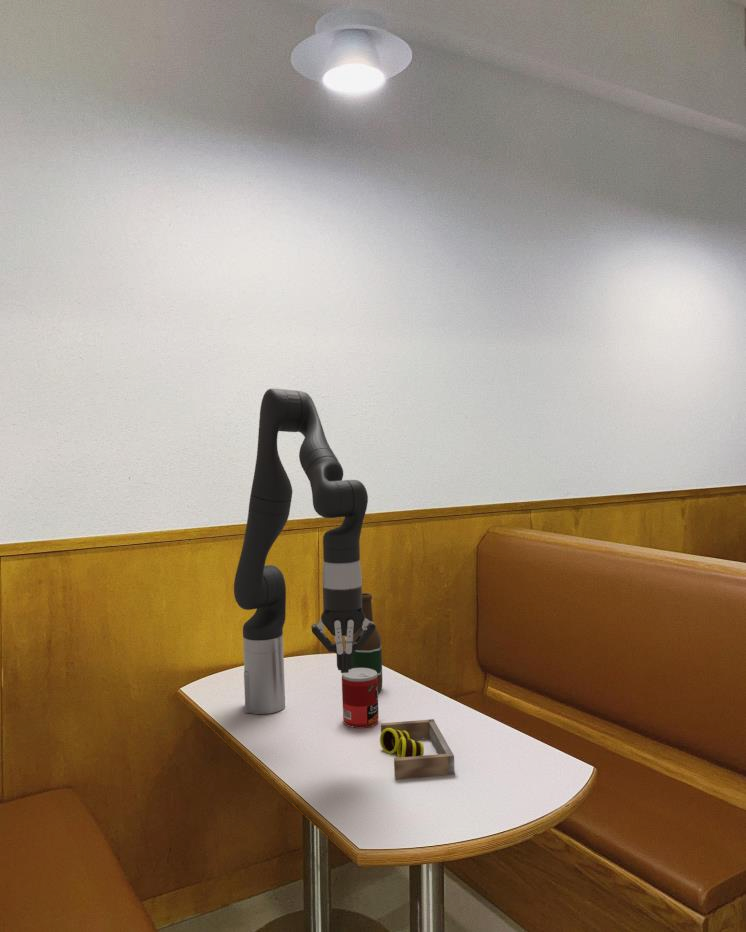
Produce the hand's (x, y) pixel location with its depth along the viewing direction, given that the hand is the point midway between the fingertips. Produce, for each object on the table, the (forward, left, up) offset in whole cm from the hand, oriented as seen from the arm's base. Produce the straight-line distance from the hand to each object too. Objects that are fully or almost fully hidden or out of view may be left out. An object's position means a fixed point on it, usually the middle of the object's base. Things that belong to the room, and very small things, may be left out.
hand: (344, 671), depth 152 cm
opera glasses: (+11, +1, -18) cm, 22 cm away
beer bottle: (+9, +40, -18) cm, 45 cm away
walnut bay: (+13, 0, -18) cm, 22 cm away
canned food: (+5, +20, -18) cm, 28 cm away
